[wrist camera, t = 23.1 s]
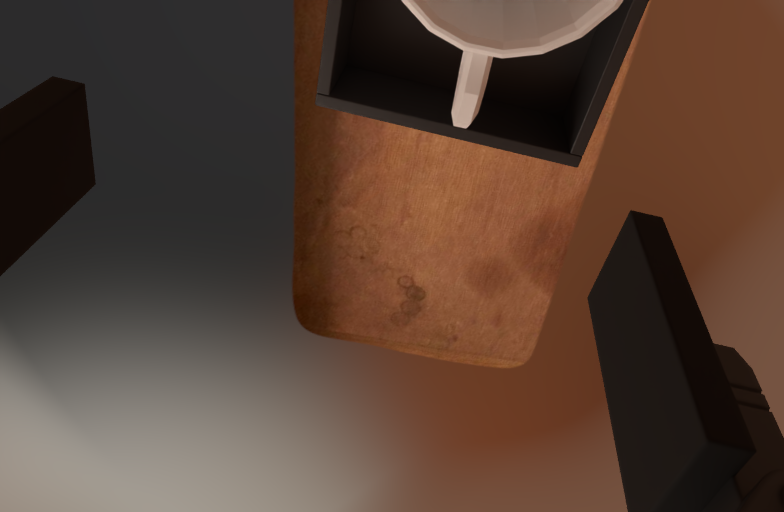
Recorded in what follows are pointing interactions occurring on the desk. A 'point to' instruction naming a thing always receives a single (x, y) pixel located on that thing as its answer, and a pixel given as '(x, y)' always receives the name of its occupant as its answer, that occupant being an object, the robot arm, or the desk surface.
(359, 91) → the basket
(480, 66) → the mug
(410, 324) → the desk surface
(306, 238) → the desk surface
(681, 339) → the robot arm
